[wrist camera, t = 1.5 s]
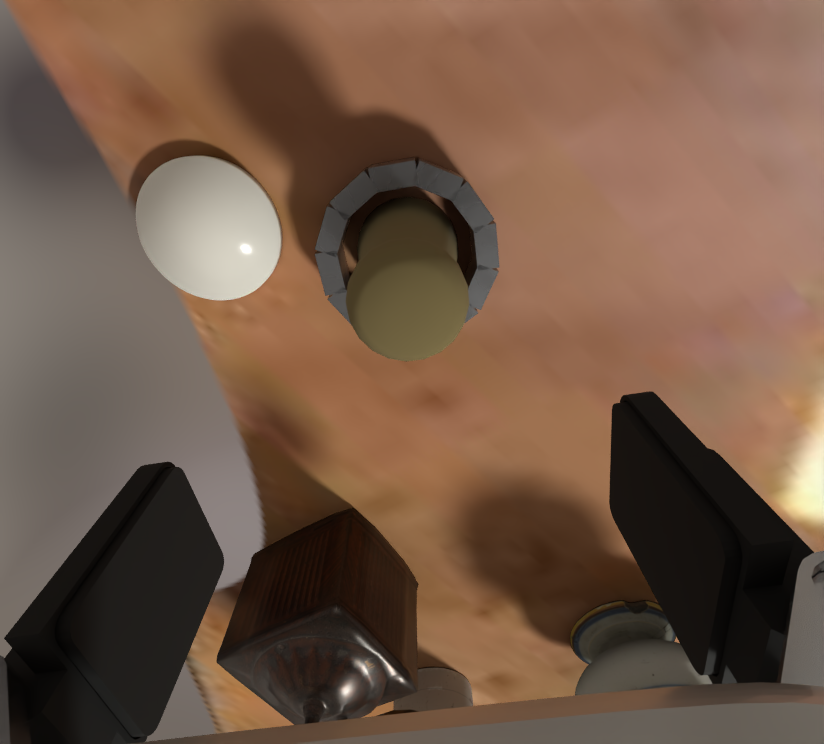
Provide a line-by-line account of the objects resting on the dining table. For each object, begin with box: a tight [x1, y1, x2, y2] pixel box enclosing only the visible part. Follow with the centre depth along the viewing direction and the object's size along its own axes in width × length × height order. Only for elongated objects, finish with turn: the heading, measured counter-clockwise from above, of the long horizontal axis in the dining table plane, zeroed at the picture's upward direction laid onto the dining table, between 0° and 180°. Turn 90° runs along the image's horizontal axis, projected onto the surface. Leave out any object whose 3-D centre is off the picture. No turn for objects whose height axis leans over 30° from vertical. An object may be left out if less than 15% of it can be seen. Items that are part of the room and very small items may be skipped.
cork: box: [346, 197, 469, 361], centre depth 24 cm, size 6×6×11 cm
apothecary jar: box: [570, 601, 712, 696], centre depth 37 cm, size 12×12×18 cm
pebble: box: [135, 155, 283, 300], centre depth 28 cm, size 8×8×1 cm
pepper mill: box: [217, 508, 420, 725], centre depth 33 cm, size 16×11×18 cm
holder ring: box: [315, 157, 499, 324], centre depth 27 cm, size 10×10×2 cm
